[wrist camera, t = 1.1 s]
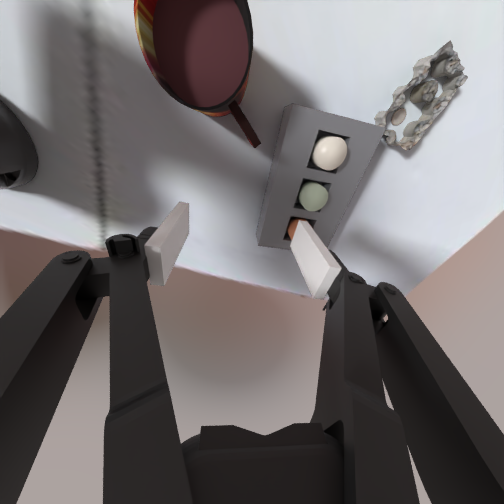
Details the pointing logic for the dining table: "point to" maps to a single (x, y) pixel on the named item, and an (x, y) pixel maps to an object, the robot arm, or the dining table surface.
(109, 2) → the dining table surface
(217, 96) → the mug
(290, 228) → the rust button
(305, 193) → the sage button
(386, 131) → the egg carton
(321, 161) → the cream button
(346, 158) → the console
